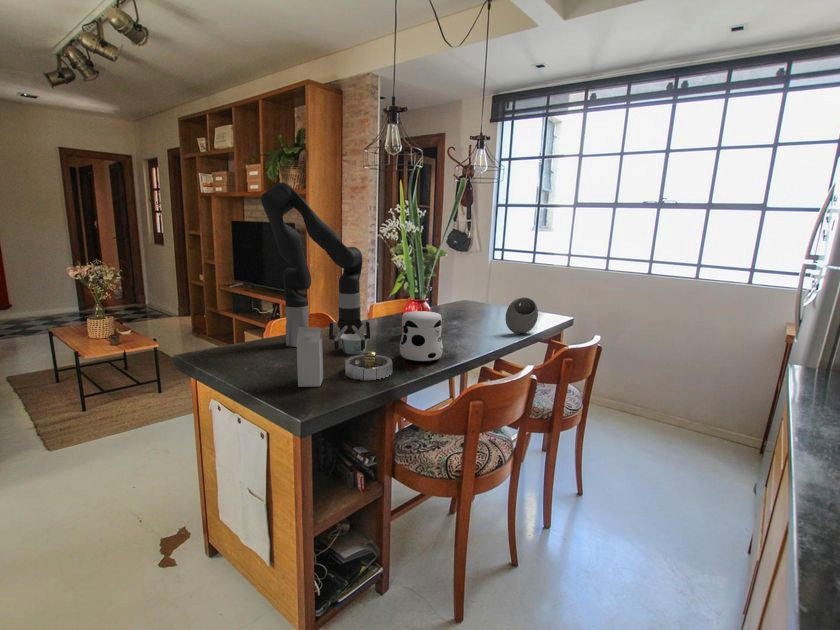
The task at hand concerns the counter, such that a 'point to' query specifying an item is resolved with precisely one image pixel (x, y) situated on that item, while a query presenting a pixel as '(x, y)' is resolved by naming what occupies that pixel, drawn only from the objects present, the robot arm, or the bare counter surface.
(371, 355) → the brass door knob
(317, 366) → the milk carton
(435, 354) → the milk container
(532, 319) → the planter
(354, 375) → the steel ring
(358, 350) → the food container
